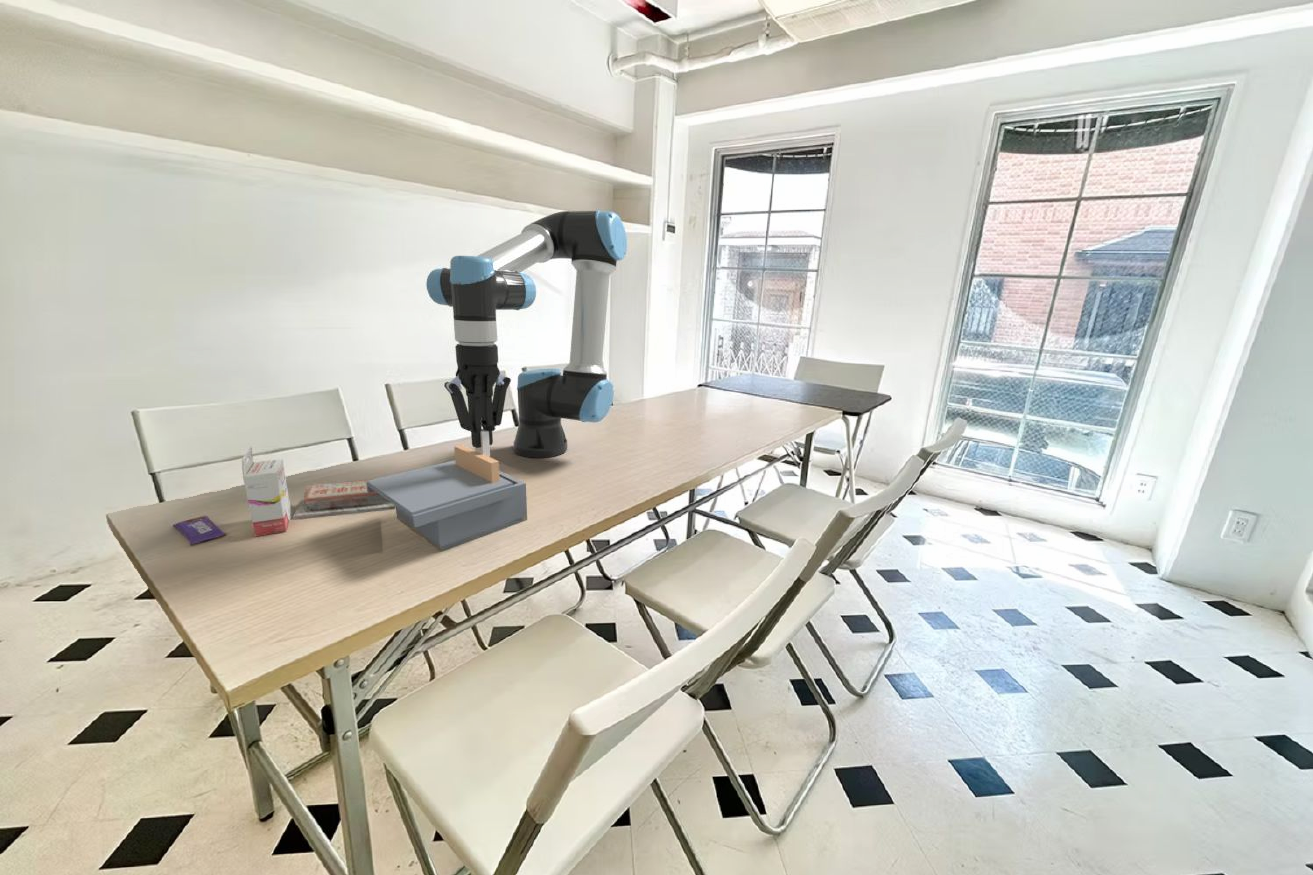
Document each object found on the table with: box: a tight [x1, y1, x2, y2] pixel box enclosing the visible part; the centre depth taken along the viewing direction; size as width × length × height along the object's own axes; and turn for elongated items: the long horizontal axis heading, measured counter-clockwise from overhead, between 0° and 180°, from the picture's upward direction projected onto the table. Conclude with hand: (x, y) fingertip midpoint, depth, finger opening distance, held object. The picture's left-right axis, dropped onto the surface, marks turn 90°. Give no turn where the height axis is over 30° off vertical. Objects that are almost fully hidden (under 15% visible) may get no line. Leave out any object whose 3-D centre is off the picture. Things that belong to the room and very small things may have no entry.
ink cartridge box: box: [241, 447, 293, 537], centre depth 93 cm, size 9×5×15 cm, turn 29°
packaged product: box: [292, 479, 396, 520], centre depth 104 cm, size 18×5×10 cm
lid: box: [366, 444, 515, 527], centre depth 94 cm, size 19×20×6 cm
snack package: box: [172, 515, 227, 545], centre depth 91 cm, size 12×2×5 cm
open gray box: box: [395, 470, 528, 553], centre depth 99 cm, size 18×18×8 cm
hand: (483, 461), depth 101 cm, fingers closed
